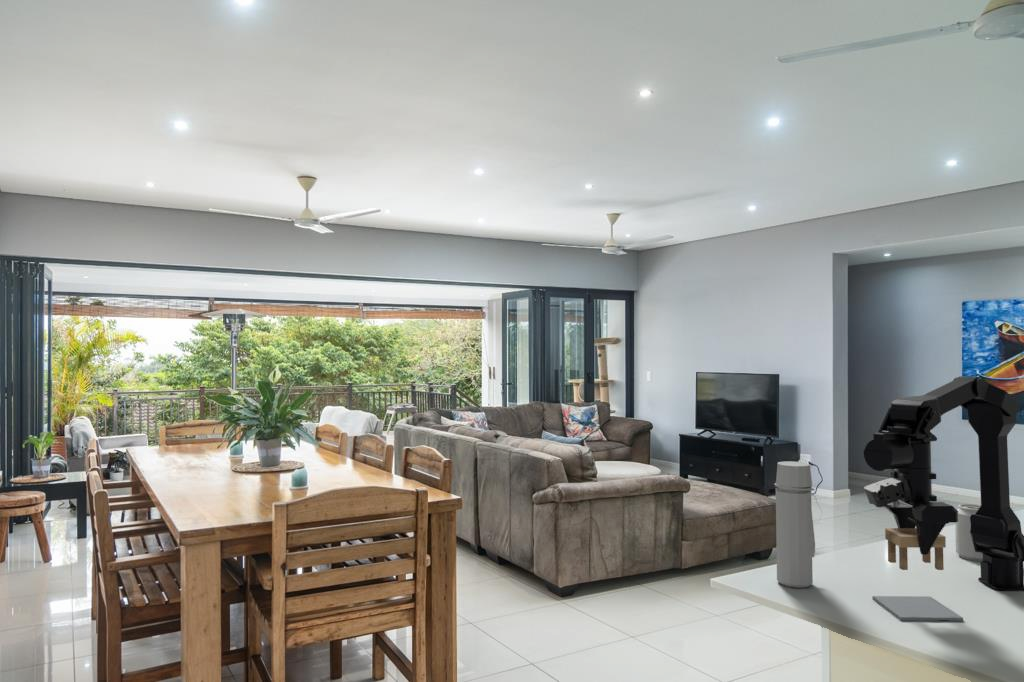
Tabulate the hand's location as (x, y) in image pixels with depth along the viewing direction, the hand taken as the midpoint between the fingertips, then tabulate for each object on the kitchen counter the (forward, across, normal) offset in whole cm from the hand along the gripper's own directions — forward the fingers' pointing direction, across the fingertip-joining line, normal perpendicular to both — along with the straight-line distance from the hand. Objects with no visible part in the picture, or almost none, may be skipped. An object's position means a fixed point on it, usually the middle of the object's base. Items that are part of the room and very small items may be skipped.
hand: (915, 549), depth 133 cm
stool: (+3, 0, 0) cm, 3 cm away
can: (+12, -34, +30) cm, 47 cm away
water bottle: (+11, -15, -17) cm, 25 cm away
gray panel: (+11, 0, 0) cm, 11 cm away
